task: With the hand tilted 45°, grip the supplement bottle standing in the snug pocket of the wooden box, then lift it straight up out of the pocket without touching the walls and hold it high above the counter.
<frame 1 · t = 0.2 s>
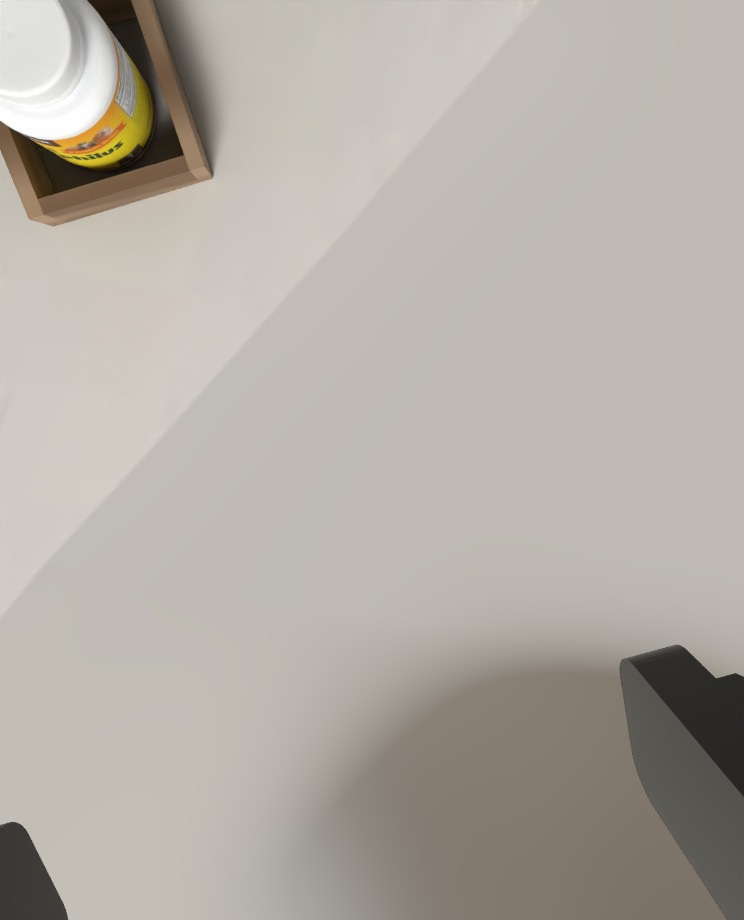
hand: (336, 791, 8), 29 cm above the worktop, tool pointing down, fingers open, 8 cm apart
supplement bottle: (102, 115, 32), resting in wooden box
wooden box: (101, 114, 32), on the worktop
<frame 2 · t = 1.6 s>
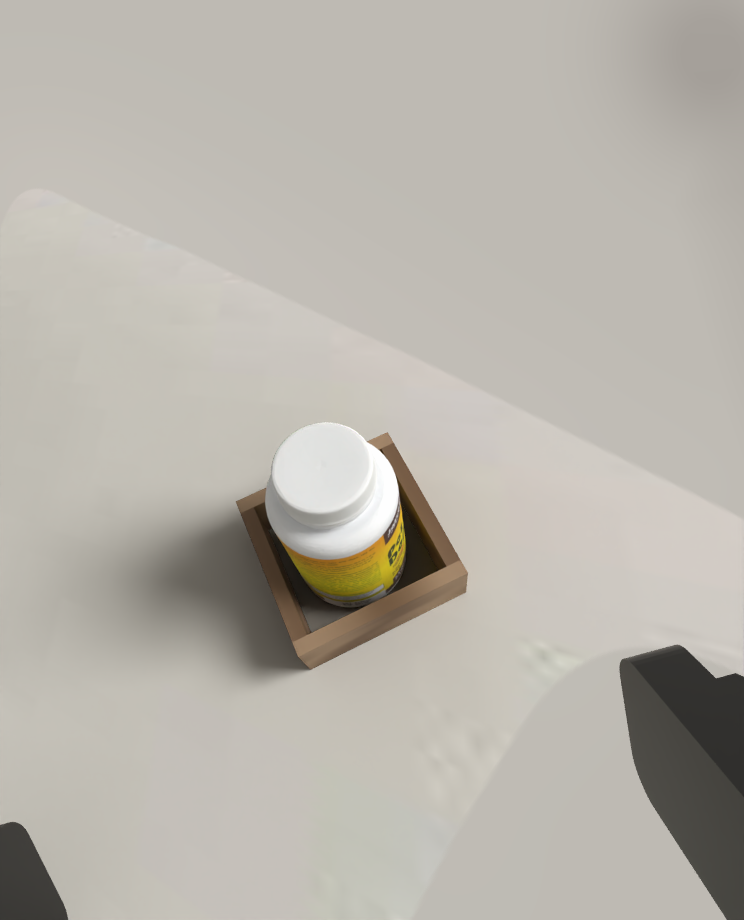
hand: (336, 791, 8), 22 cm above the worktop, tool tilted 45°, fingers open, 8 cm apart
supplement bottle: (354, 558, 34), resting in wooden box
wooden box: (354, 556, 33), on the worktop
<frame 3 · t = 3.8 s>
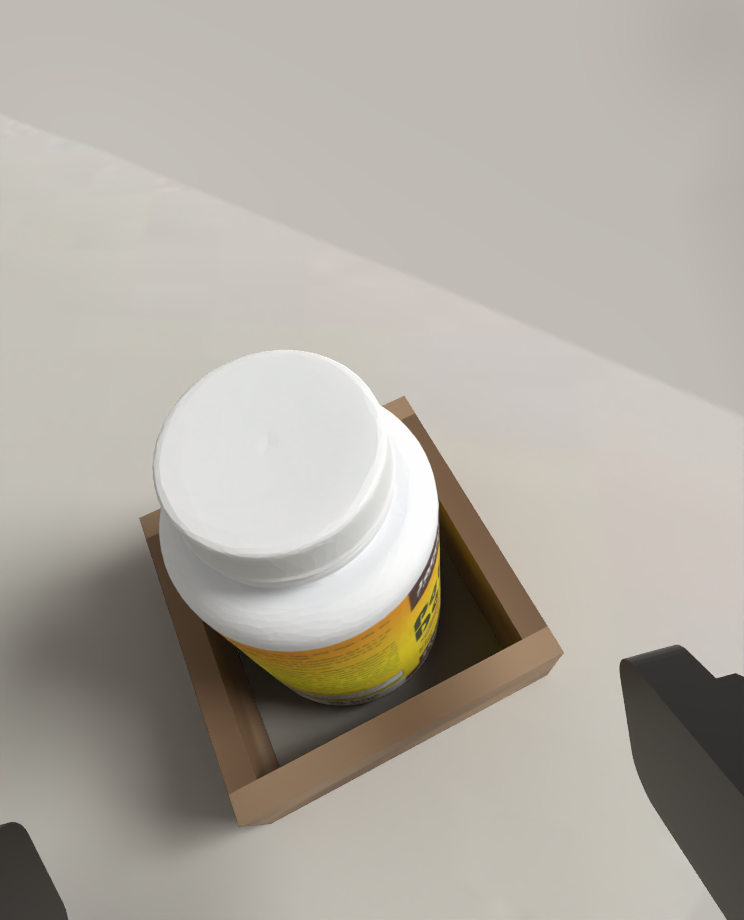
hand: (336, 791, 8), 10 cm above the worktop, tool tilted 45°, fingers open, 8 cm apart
supplement bottle: (349, 612, 20), resting in wooden box
wooden box: (348, 610, 20), on the worktop
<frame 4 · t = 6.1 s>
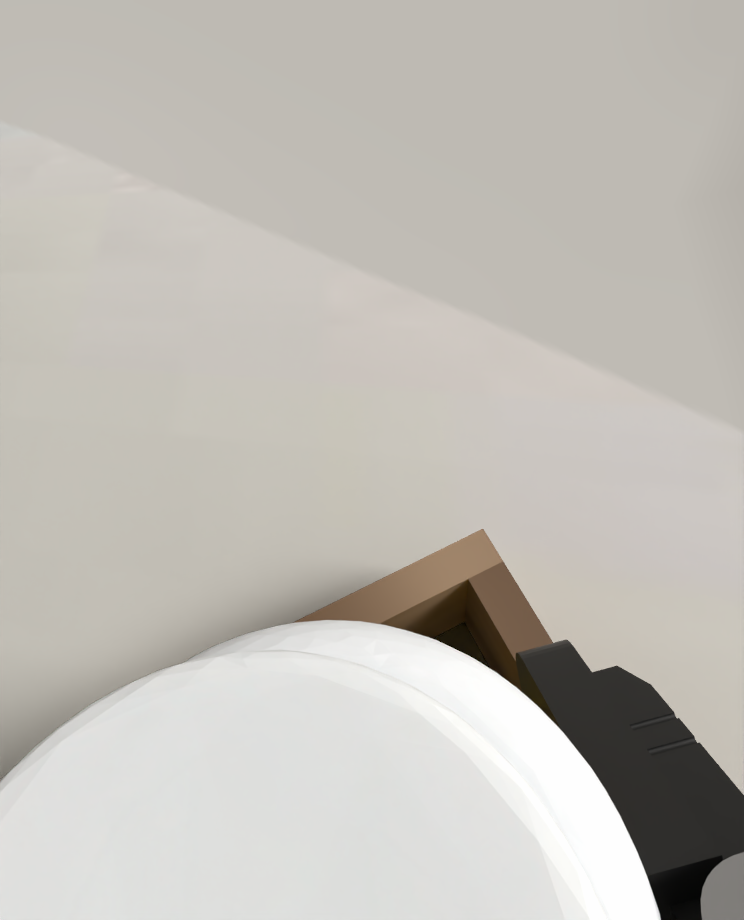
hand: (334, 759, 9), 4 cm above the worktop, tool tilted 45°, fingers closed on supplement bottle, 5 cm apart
supplement bottle: (391, 875, 12), resting in wooden box, touching gripper
wooden box: (390, 876, 12), on the worktop
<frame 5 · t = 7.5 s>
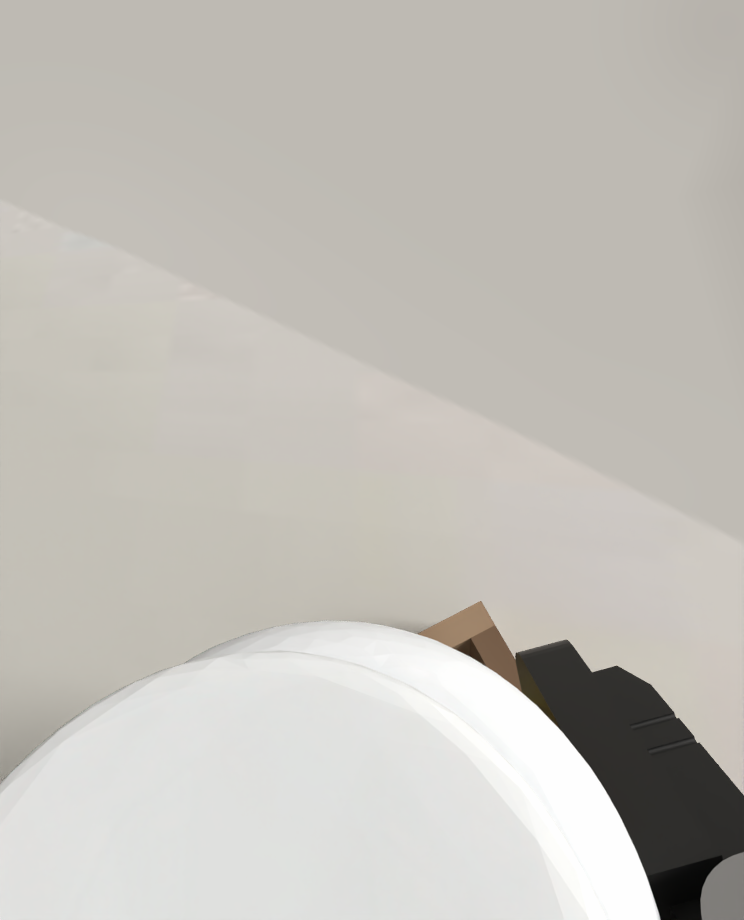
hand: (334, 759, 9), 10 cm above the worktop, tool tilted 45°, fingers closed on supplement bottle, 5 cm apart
supplement bottle: (391, 875, 12), point 5 cm above the worktop, touching gripper
wooden box: (418, 846, 17), on the worktop
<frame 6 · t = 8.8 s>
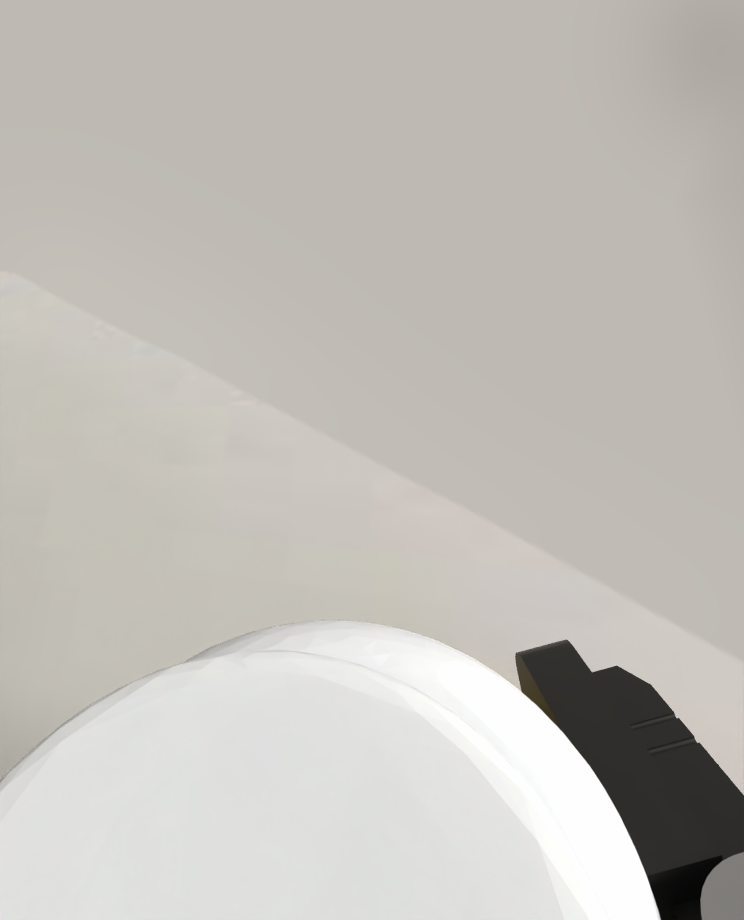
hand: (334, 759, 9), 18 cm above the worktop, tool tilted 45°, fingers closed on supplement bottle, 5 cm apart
supplement bottle: (391, 875, 12), point 14 cm above the worktop, touching gripper
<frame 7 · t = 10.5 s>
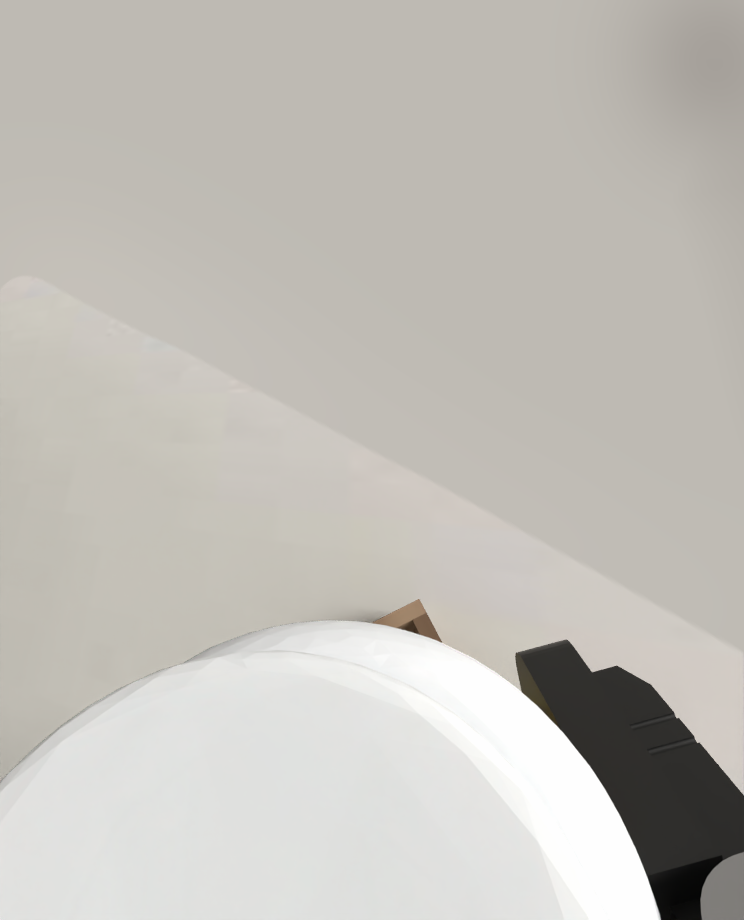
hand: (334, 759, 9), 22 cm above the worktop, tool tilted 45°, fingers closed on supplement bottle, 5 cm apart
supplement bottle: (391, 875, 12), point 18 cm above the worktop, touching gripper
wooden box: (382, 739, 30), on the worktop
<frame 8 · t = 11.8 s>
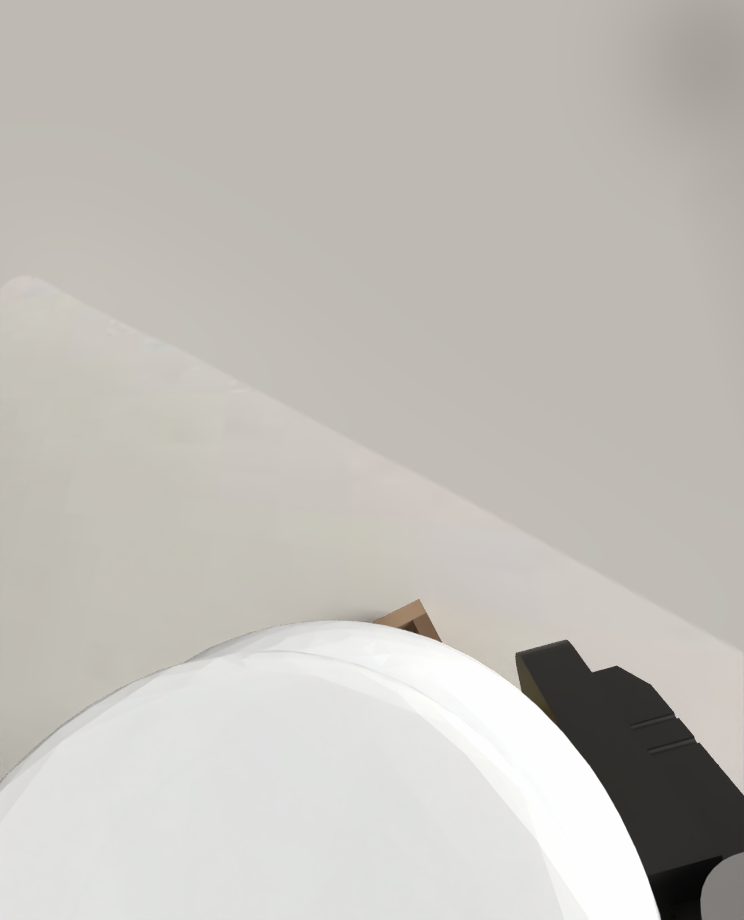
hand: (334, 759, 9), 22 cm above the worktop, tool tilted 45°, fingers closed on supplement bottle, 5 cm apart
supplement bottle: (391, 875, 12), point 18 cm above the worktop, touching gripper
wooden box: (382, 739, 30), on the worktop
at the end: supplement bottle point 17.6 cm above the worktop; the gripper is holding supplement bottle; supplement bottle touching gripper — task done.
